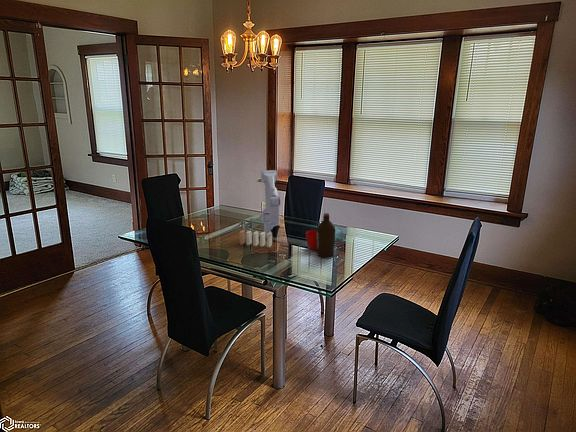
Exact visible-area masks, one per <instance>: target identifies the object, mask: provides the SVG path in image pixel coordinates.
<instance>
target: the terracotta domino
mask: <svg viewBox="0 0 576 432" xmlns="http://www.w3.org/2000/svg"><path fill="white" fill-rule="evenodd" d="M244 244H246V231H245V229H242V230H241V231H239V245H241V246H242V245H244Z"/></svg>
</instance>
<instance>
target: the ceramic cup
mask: <svg viewBox="0 0 576 432" xmlns="http://www.w3.org/2000/svg"><path fill="white" fill-rule="evenodd" d="M305 239H306V241H305V242H306V243H307V246H308V247H309V248H310V250H312V251H316V252H317V229H315V230H313V229H311V230H307V231H306V232H305Z"/></svg>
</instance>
